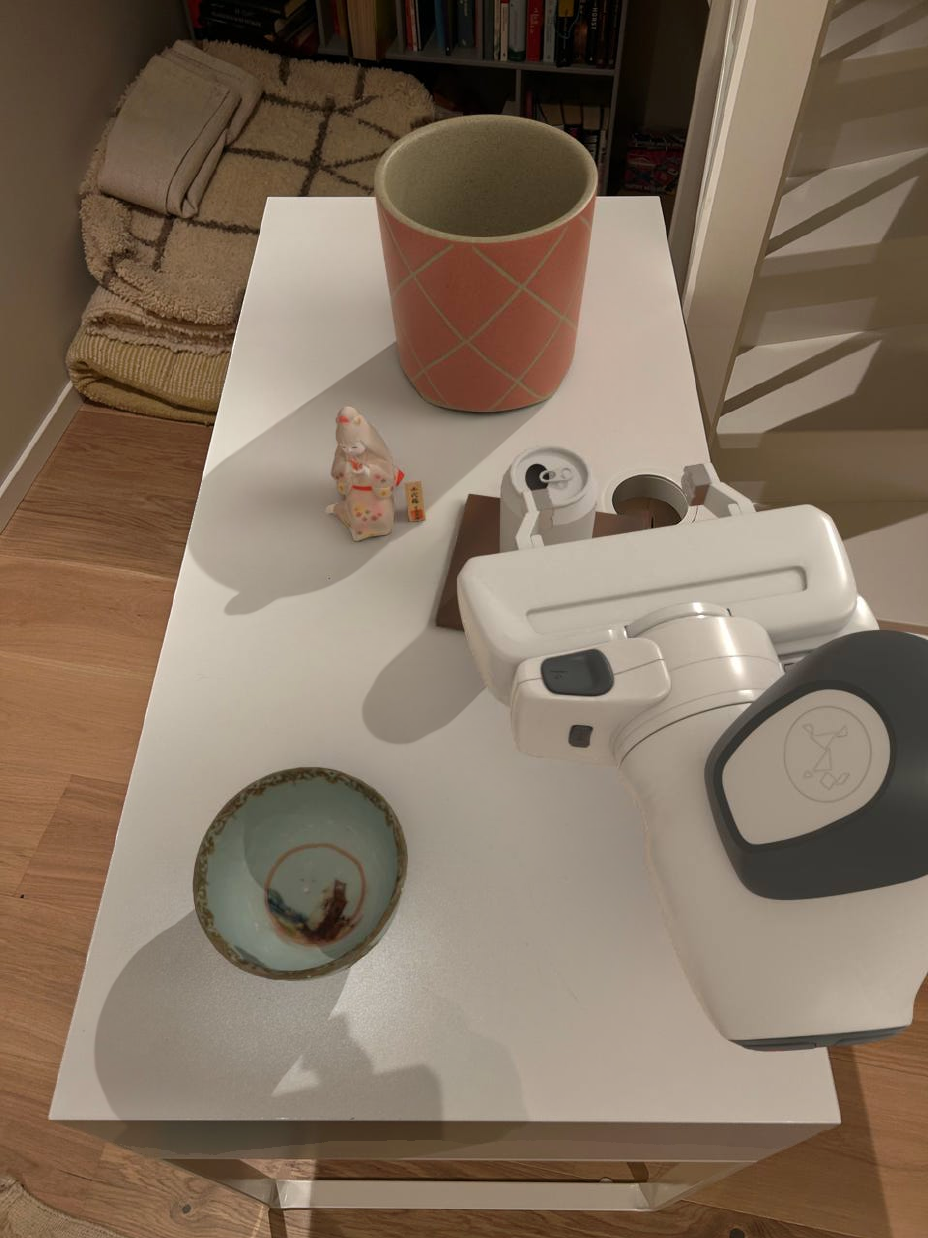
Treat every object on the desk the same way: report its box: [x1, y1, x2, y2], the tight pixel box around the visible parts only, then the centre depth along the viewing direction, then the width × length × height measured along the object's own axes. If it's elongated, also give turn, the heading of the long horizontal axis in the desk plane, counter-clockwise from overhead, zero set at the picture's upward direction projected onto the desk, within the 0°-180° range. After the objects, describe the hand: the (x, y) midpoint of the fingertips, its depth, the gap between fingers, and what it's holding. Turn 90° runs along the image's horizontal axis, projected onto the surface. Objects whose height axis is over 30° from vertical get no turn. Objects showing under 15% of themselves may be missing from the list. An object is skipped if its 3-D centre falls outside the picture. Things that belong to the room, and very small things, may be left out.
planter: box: [373, 114, 599, 413], centre depth 86 cm, size 19×19×20 cm
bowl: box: [192, 766, 409, 982], centre depth 61 cm, size 14×13×8 cm
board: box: [434, 493, 646, 632], centre depth 79 cm, size 16×14×1 cm
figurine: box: [325, 406, 426, 542], centre depth 79 cm, size 9×7×12 cm
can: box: [499, 443, 600, 553], centre depth 74 cm, size 8×8×12 cm
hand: (614, 483), depth 52 cm, fingers open, 8 cm apart
